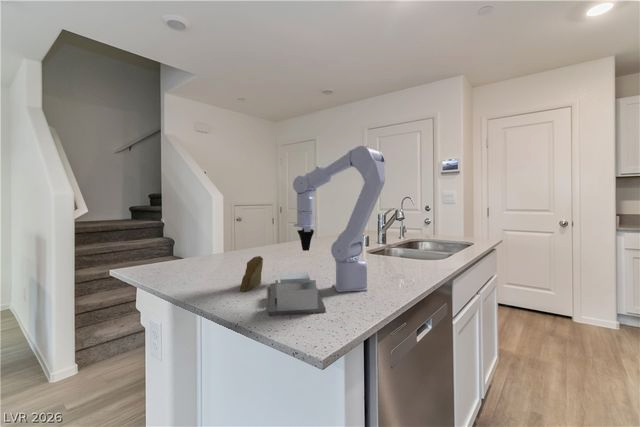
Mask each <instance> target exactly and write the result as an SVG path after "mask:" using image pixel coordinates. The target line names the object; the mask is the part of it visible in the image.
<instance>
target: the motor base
mask: <svg viewBox="0 0 640 427" xmlns="http://www.w3.org/2000/svg"><path fill="white" fill-rule="evenodd" d="M268 304H269V308H268V316H271V317H272V316H287V315H301V314H302V315H304V314H316V313H317V314H319V313H320V314H321V313H327V312H326V310H327V309H326V306H325V304H324V302H323V300H322V297H321V294H320V292H319V290H318V287H317V284H316V285H315V282H313V283H293V284H281V282H279V281H278V279H275V283H274V282H273V283H270V292H269V303H268Z"/></svg>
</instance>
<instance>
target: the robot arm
mask: <svg viewBox="0 0 640 427" xmlns="http://www.w3.org/2000/svg"><path fill="white" fill-rule="evenodd" d="M386 162H387V160H386V158H385V157H384V154H383V152H382V151H381V150H379V149H376V148H375V149H373V148H370V147H366V146H364V145H359V146H355V148H353V149H350V150H348V151H347V153H346V154H345V155H342V156H341V157H339V158H338V159H337V160H334V161H333V162H332V163H330V164H329V165H328V166H324V165H317V166H315V169H314V170H311V171H310V172H306V173H305V175H304V176H303V175H298V176H296V177H295V178H294V179H293V181H292V182H293V183H292V186H293V190H294V192H295V193H296V223H294V224H293V227H297V228H301V229H297V233H298V235H299V239H300V243H301V249H302V251H303V252H304V251H305V252H307V251H308V252H309V251H310V247H311V241H312V237H313V236H314V233H315V231H314V229H313V227H315V223H314V221H315V220H314V212H315V211H314V197H315V192H316V190H317V189H318V188H320V187H322V186H324V185H326V184H327V183H329V182H330V181H331V180H332V176H333V177H334V176H335V175H337V174H339V173H342V172H343V171H346V170H348V169H350V168H355V169H356V170H357V171H358V172H359V174H360V175H361V177H362V179H363V181H364V183H363V185H362V189H361V191H360V193H359V195H358V198H357V199H356V203H355V205H354V207H353V210H352V213H351V214H350V217H349V220H348V222H347V225H346V227H345V229H344V230H343V231H342V232H341V233H340V234H339V235H338V237H337V239H336V240H335V241H334V242H333V243H332V244H331V247H330V248H331V249H330V250H331V251H330V252H331V255H332V257H333V259H334V262H335V282H334V283H332V286H333V287H334V289H335V290H336V291H337V293H342V292H343V293H345V292H357V291H358V292H359V291H360V292H362V291H364V292H365V291H368V268H367V267H368V266H367V262H366V260H364V259H360V255H361V254H362V253H363V249H364V248H363V247H364V246H363V245H364V241H365V237H364V236H363V234H364V231H365V230H366V227H367V224H368V222H369V220H370V218H371V215H372V213H373V211H374V208H375V206H376V204H377V202H378V199H379V197H380V194H381V191H382V190H383V188H384V185H385V182H386V172H385V165H386Z"/></svg>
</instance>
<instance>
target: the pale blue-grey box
mask: <svg viewBox="0 0 640 427" xmlns="http://www.w3.org/2000/svg"><path fill="white" fill-rule="evenodd" d="M279 275H280V282H279V283H281V284H293V283H313V282H315V285H316V286H317V281H316V279H313V280H312V279H311V278H310V275H309V273H308V271H302V272H301V271H300V272H282V273H279Z"/></svg>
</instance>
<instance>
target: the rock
mask: <svg viewBox="0 0 640 427" xmlns="http://www.w3.org/2000/svg"><path fill="white" fill-rule="evenodd" d="M263 261H264V259H263V257H262V256H260V255H258V256H257V255H256V256H254V257H252V258H251V259H250V260H249V261H247V262H246V268H245V272H244V275H243V277H242V279H241V284H240V286H239V291H240V292H247V291H250V290H252V289H254V288H256V287H257V286H259V285H260V284H262V270H263V263H264V262H263Z"/></svg>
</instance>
